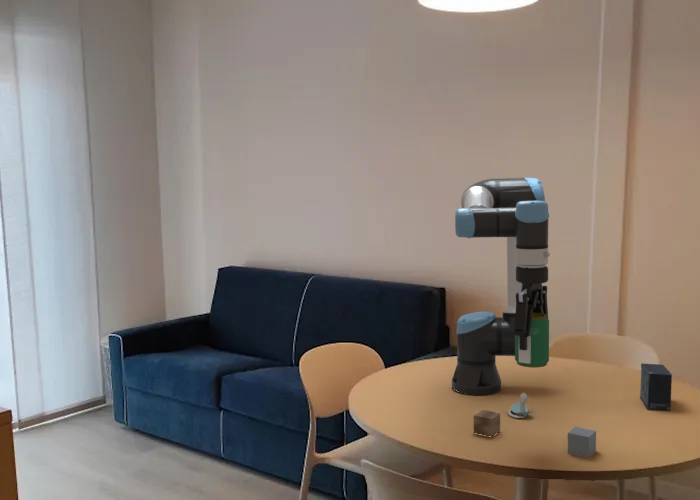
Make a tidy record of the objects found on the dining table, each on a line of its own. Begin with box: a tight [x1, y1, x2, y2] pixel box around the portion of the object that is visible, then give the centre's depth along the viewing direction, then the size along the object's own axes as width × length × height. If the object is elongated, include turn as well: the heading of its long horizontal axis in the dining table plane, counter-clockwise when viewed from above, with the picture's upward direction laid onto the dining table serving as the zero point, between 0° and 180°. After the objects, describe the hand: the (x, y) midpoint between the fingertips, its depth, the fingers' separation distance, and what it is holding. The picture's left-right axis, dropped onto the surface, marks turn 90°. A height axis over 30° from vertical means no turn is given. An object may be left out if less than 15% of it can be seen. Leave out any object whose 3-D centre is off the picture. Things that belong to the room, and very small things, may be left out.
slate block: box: [567, 426, 597, 458], centre depth 164 cm, size 5×5×5 cm
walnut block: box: [473, 409, 501, 438], centre depth 178 cm, size 5×5×5 cm
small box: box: [639, 363, 673, 412], centre depth 195 cm, size 11×6×10 cm, turn 168°
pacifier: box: [507, 392, 534, 419], centre depth 190 cm, size 7×6×6 cm
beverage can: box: [514, 312, 550, 368], centre depth 168 cm, size 8×8×12 cm
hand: (531, 358), depth 169 cm, fingers closed on beverage can, 8 cm apart
